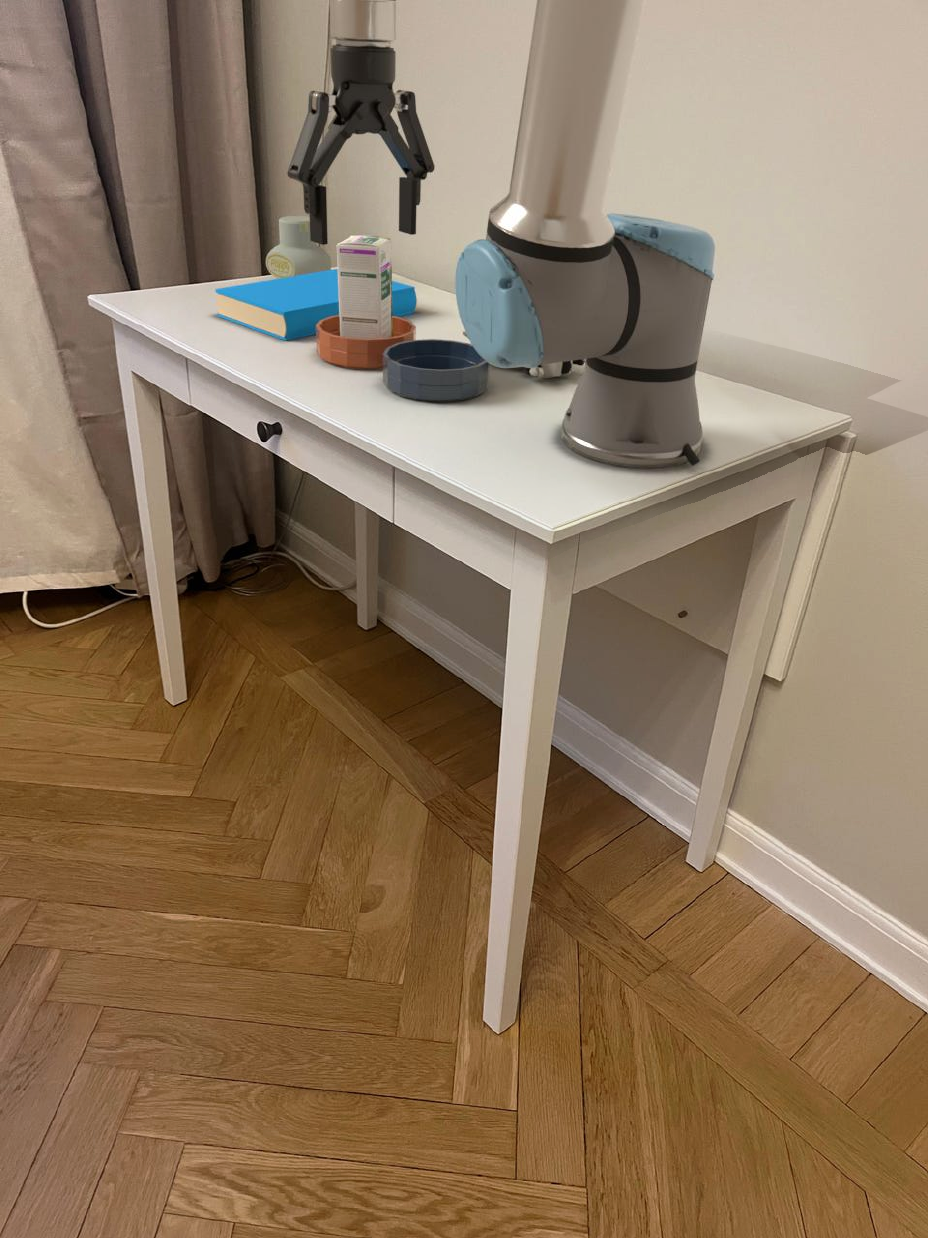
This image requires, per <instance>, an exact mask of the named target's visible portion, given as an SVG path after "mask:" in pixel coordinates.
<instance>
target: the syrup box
mask: <svg viewBox="0 0 928 1238" xmlns="http://www.w3.org/2000/svg"><path fill="white" fill-rule="evenodd" d="M392 255H393V254H392V239H391V238H390V237H384V236H379V235H365V234H364V235H350V236H349V237H348V238H345V240H342V241H341V242H339V243H337V244H336V261H337V262H336V263H337V264H336V265H337V269H338V293H339V317H340V336H342V337H347V338H358V339H381V338H390V337H393V326H392V281H393V269H392V268H393V264H392V262H393V261H392V260H393V259H392Z"/></svg>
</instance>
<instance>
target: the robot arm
mask: <svg viewBox="0 0 928 1238" xmlns="http://www.w3.org/2000/svg"><path fill="white" fill-rule="evenodd" d="M396 1H397V0H329V23H330V24H329V25H330V27H329V29H330V30H329V31H330V37H331V38H332V39H333V40H335V44H332V45H331V47H330V77H331V79H332V83H333V88H332V92H331V94H330V93H327V92H325V91H319V90H311V91H310V92H309V94H308V105H307V114H306V117H305V120H304V123H303V125H302V129H301V131H300V134H299V137H298V140H297V143H296V146H295V149H294V151H293V154H292V156H291V160H290V163H289V166H288V169H287V172H286V173H287V177H288V178H289V179H291V180H294V181H297V182H298V183H301V185H302V189H303V192H302V193H303V209H304V212H305V214H307V215H309V217H310V241H313V242H316V244H318V245H322V246H325V245H328V241H329V240H328V239H329V238H328V206H327V205H328V204H327V203H328V201H327V200H328V199H327V186H325V185H321V183H322V181H323V179H324V178H325V176H326V174H327V173H328V171H329V169H330V167H331V166H332V165H333V163H334V161H335V160H336V158H337V157H338V154H339V153H340V151H341V150H342V148H343V146H344V145H345V143H346V142H347V140H349V139H350V138H351V137H352V136H353V134H355V135H365V134H367V133H368V134H373V135H376V134H377V135H379V136H380V137H381V139H382V140H383V142H384V144H385V145H386V146H387V148H388V150H389V151H390V153H391V155H392V156H393V158H394V159H395V161H396V162H397V164H398V165H399V167H400V169H401V171H402V172H403V173H404V175H405V176H406V177H405V176H399V177H398V178H399V179H398V180H399V181H398V183H399V185H398V232H401V233H404V234H407V235H410V236H413V235H416V234H417V206H420V203H421V198H422V197H421V195H422V194H421V191H422V188H421V187H422V181H425V180H426V179H427V177H428V173H429V174H431V173H433V172H434V171H435V163H434V161H433V158H432V154H431V151H430V148H429V145H428V142H427V138H426V136H425V134H424V130H423V127H422V124H421V121H420V118H419V116H418V113H417V104H416V102H417V101H416V94H415V92H414V91H410V90H404V89H398V90H397V91H396V92H394V88H393V86H394V83H395V81H396V58H397V57H396V55H397V53H396V50H395V48H394V47H391V46H392V43H394V42H395V41H396V40H397V2H396ZM646 2H647V0H536V6H535V12H534V20H533V26H532V34H531V40H530V47H529V53H528V59H527V60H528V61H527V66H526V67H527V68H526V74H525V81H524V88H523V95H522V102H521V108H520V116H519V121H518V122H519V123H518V127H517V128H518V129H517V137H516V143H515V150H514V157H513V163H512V172H511V178H510V183H509V184H510V185H509V191H508V193H507V195H506V196H505V197H503V198H502V199H501V200H499V201H498V202H496V204H494V205H493V206H492V207H491V208H490V210H489V214H488V220H487V226H486V235H485V239H484V238H480V239H477V240H474V241H473V242H471V243H468V244H467V245H466V246H465V247H464V249H463V251H462V252H461V253H460V255H459V257H458V259H457V263H456V268H455V277H454V284H455V286H454V288H455V299H456V306H457V309H458V310H457V311H458V314H459V317H460V321H461V324H462V325H463V329H464V332H466V334H467V336H468V338H469V339H468V338H467V339H468V340H469V342H470V344H472V346H473V347H474V349H475V350H476V351H477V353H478V354H479V355H480V356H481V357H482V358H483V359H484V360H485V361H487V362H488V363H490V365H492V366H493V367H495V368H501V369H513V368H524V367H526V368H535V367H537V366H538V365H544V364H551V363H558V362H565V361H572V360H579V359H586V363H585V366H584V369H583V370H584V371H583V372H582V375H581V377H580V380H579V382H578V384H577V386H576V389H575V391H574V393H573V396H572V398H571V401H570V403H569V406H568V408H567V409H566V412H565V414H564V416H563V420H562V427H561V439H562V442H563V443H564V444H565V445H566V446H567V447H568V448H569V449H570V450H572V451H573V452H575V453H577V454H578V455H581V456H583V457H585V458H588V459H591V460H593V461H596V462H597V461H598V462H601V463H605V464H608V465H609V464H610V465H613V466H614V465H615V466H622V467H630V468H648V469H649V468H665V467H673V466H677V465H682V464H684V463H687V462H688V463H689V464H690V465H691V466H693V467H694V466H695V465H697V464H698V463H699V462H700V459H699V457H698V455H699V454H700V451H701V447H702V442H703V426H702V423H701V420H700V410H699V401H698V394H697V388H696V387H697V386H696V373H697V366H698V361H699V355H700V349H701V343H702V339H703V333H704V327H705V321H706V315H707V310H708V306H709V299H710V293H711V288H712V283H713V281H714V277H715V275H714V273H713V270H714V262H715V253H716V245H715V241H714V239H713V237H712V236H711V235H710V234H709V233H708V232H707V231H705V230H703V229H700V228H697V227H694V226H690V225H686V224H681V223H678V222H674V221H670V220H669V221H668V220H663V219H659V218H651V217H646V216H640V215H635V214H626V213H615V212H613V213H611V212H610V213H605V210H604V206H605V201H606V197H607V192H608V186H609V181H610V177H611V173H612V168H613V161H614V157H615V152H616V147H617V143H618V139H619V133H620V129H621V122H622V118H623V113H624V109H625V105H626V99H627V94H628V90H629V84H630V80H631V75H632V70H633V64H634V60H635V55H636V50H637V46H638V45H637V44H638V41H639V37H640V36H639V35H640V31H641V27H642V26H641V25H642V21H643V20H642V19H643V16H644V11H645V6H646ZM393 110H395V111H396V113H397V117H398V120H399V123H400V126H401V129H402V132H403V134H404V137H405V139H404V138H403V136H402V134H401V133H400V131H399V126H398V125H397V123H396V121H395V120H394V118H393V116H392V115H391V114H392V112H393ZM332 111H334V112H335V115H334V116H333V117H332V119H331V121H330V122H329V124H328V126H327V129H328V131H326V134H325V135H324V137H323V139H322V136H323V134H324V131H325V127H326V124H327V121H328V118H329V114H330V113H331V112H332ZM321 139H322V140H321ZM320 141H321V142H320Z"/></svg>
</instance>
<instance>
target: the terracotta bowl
mask: <svg viewBox="0 0 928 1238" xmlns="http://www.w3.org/2000/svg"><path fill="white" fill-rule="evenodd" d="M392 326H393V337H390V338H381V339H358V338H347V337H342V336H340V317H339V315H336V316H331V317H328V318H325V319H323V320H320V321H319V322H318V323H317V325H316V334H315V339H316V340H315V342H316V353H317V355H318V357H319V358H320V359H322V360H324V361H326V362H327V363H329V364H331V365H334V366H338V367H342V368H347V369H355V370H381V369H382V370H383V353H384V351H385V349H386V348H387V347H389V346H392V345H394V344H396V343H400V342H406V341H411V340H417V326H416V325H415V324H414V322H412V321H410V320H408V319H405V318H403V317H401V316H398V317H395V316H392Z"/></svg>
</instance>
